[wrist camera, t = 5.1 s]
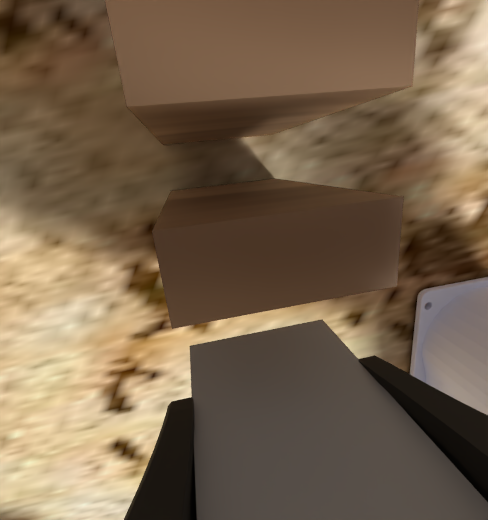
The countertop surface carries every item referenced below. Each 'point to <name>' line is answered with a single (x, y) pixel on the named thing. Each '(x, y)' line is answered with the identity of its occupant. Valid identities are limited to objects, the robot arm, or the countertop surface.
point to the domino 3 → (311, 437)
